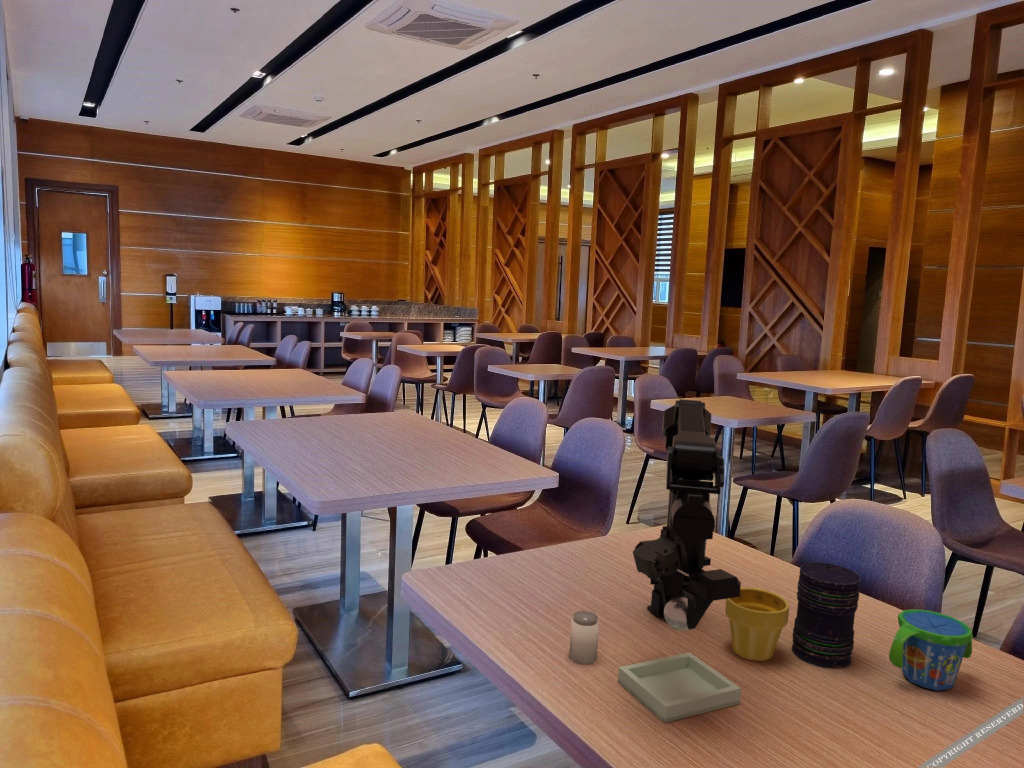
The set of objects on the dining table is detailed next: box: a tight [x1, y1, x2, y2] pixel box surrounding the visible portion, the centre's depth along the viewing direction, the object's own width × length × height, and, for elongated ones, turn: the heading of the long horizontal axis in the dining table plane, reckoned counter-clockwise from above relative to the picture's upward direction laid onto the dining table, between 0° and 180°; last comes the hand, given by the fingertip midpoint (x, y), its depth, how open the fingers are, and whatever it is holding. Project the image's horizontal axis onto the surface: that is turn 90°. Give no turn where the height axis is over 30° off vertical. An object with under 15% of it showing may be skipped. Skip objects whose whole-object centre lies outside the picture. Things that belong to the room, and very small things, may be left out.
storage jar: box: [791, 562, 861, 670], centre depth 131 cm, size 10×10×15 cm
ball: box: [664, 597, 689, 632], centre depth 115 cm, size 5×5×5 cm
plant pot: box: [725, 587, 790, 662], centre depth 131 cm, size 10×10×10 cm
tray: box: [617, 651, 742, 724], centre depth 117 cm, size 14×12×2 cm
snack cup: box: [888, 608, 974, 692], centre depth 124 cm, size 16×11×10 cm
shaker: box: [568, 610, 600, 665], centre depth 126 cm, size 5×5×7 cm
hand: (680, 621), depth 116 cm, fingers closed on ball, 5 cm apart
